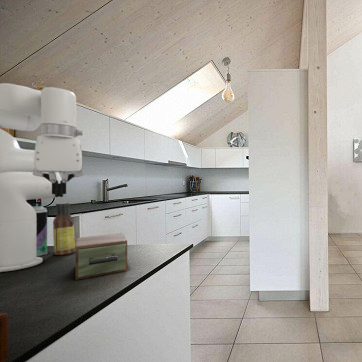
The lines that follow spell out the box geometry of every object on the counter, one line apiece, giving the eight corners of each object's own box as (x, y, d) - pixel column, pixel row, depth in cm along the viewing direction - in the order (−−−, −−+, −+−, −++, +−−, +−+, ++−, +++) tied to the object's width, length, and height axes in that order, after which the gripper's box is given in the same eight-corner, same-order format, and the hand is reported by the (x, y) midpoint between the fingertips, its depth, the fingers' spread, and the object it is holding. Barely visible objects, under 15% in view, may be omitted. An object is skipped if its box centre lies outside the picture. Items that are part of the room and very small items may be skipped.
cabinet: (127, 270, 82) (127, 240, 82) (75, 279, 74) (75, 246, 74) (122, 259, 93) (122, 232, 93) (77, 266, 85) (77, 237, 85)
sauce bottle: (79, 251, 103) (79, 202, 103) (64, 256, 97) (63, 203, 97) (64, 251, 104) (64, 202, 104) (48, 255, 98) (48, 203, 98)
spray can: (32, 257, 95) (32, 203, 95) (23, 255, 97) (23, 203, 97) (50, 253, 101) (50, 202, 101) (42, 252, 102) (42, 202, 102)
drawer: (127, 273, 77) (127, 247, 77) (77, 282, 70) (77, 254, 69) (121, 258, 91) (121, 236, 91) (79, 265, 84) (79, 241, 84)
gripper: (92, 137, 81) (92, 195, 81) (24, 131, 72) (24, 197, 72) (92, 134, 75) (92, 196, 75) (18, 127, 66) (18, 198, 66)
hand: (59, 196), depth 74 cm, fingers closed
